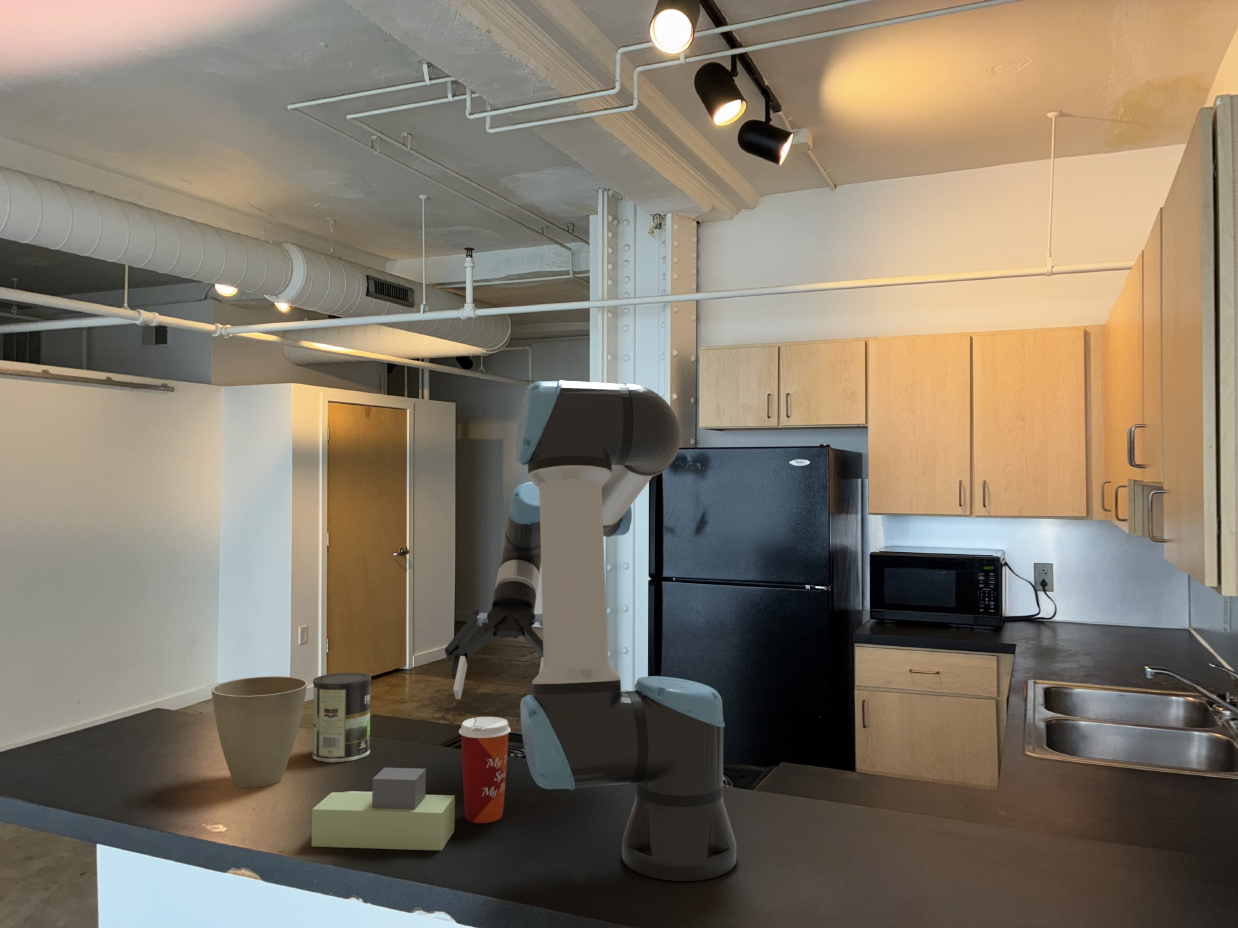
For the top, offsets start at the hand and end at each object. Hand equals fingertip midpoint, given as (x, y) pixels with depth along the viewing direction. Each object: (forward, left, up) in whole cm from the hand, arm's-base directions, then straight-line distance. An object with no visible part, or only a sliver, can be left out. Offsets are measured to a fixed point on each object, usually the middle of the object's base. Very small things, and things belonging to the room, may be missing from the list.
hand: (498, 695), depth 143 cm
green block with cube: (+13, +15, -16) cm, 25 cm away
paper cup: (0, +10, -16) cm, 19 cm away
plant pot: (+41, -3, -16) cm, 44 cm away
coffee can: (+33, -19, -16) cm, 41 cm away
